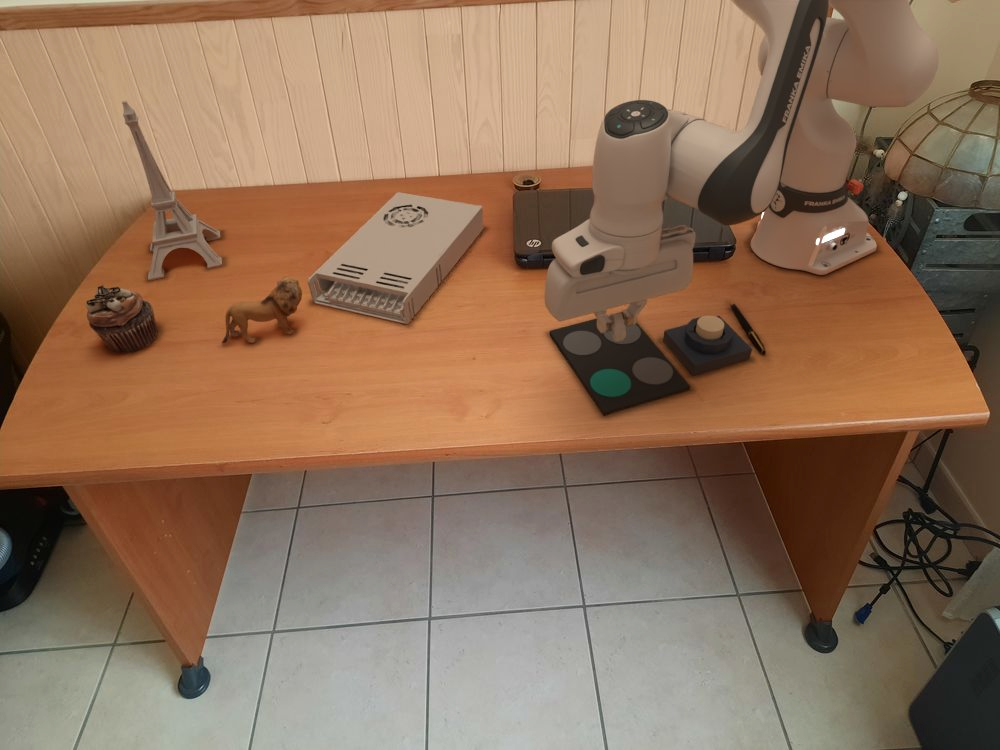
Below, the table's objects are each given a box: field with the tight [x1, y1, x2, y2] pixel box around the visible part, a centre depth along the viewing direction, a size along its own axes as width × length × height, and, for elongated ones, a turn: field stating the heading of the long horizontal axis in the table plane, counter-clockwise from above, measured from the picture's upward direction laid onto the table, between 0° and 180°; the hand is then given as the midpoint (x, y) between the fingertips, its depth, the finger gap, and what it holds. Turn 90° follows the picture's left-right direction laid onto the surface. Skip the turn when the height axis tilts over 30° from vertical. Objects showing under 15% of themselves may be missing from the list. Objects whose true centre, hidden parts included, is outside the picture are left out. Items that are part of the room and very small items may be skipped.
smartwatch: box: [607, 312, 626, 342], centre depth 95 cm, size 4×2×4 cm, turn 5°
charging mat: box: [549, 311, 691, 416], centre depth 108 cm, size 14×20×1 cm
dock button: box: [696, 314, 724, 340], centre depth 106 cm, size 4×4×2 cm
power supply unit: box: [307, 191, 485, 325], centre depth 129 cm, size 19×33×5 cm, turn 158°
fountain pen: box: [729, 300, 767, 355], centre depth 112 cm, size 14×1×2 cm, turn 8°
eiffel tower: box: [121, 100, 223, 282], centre depth 126 cm, size 13×13×30 cm
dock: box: [662, 315, 753, 377], centre depth 108 cm, size 10×9×4 cm
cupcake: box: [85, 284, 159, 354], centre depth 114 cm, size 10×10×10 cm
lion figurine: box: [221, 276, 303, 344], centre depth 114 cm, size 15×5×9 cm, turn 116°
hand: (616, 326), depth 96 cm, fingers closed on smartwatch, 2 cm apart
